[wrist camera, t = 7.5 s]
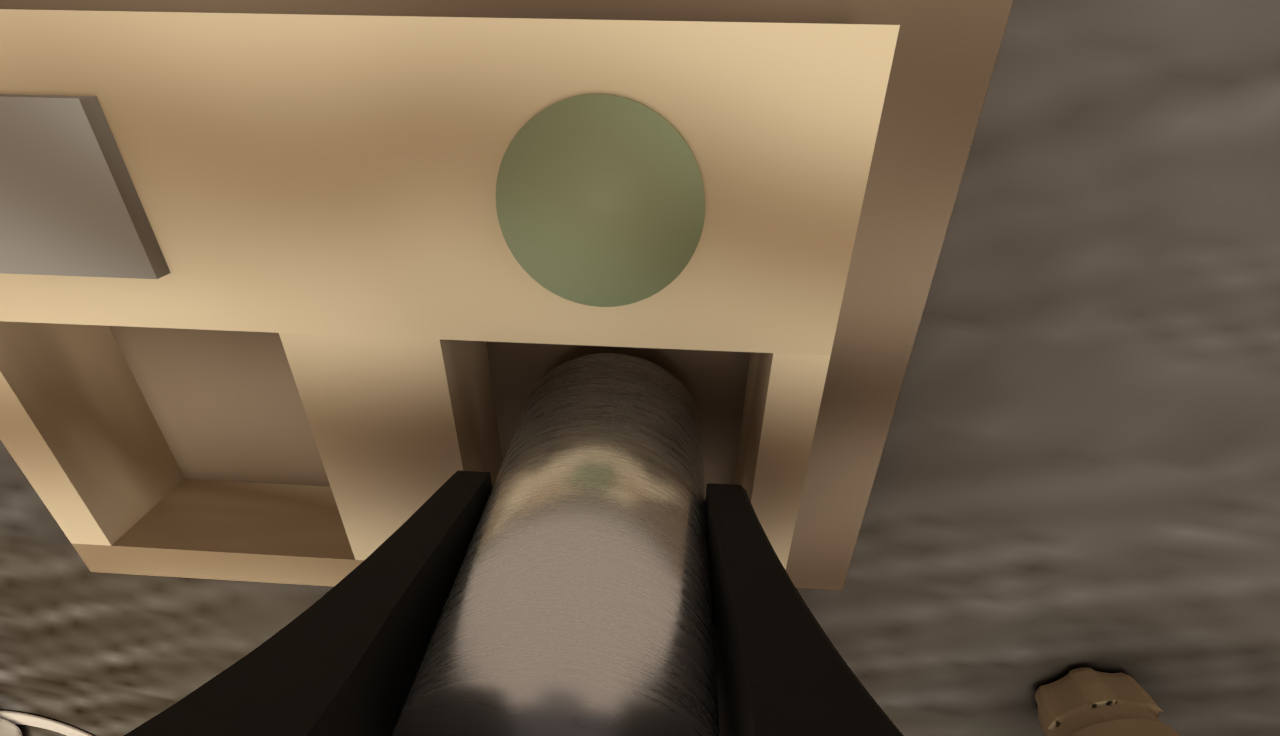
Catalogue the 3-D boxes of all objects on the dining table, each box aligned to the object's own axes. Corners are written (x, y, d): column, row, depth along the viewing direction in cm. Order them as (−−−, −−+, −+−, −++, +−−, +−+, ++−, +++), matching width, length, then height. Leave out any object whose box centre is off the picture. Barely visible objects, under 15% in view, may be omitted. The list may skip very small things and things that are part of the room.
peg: (695, 501, 14) (709, 859, 8) (531, 492, 14) (422, 837, 8) (708, 357, 12) (739, 691, 6) (517, 349, 12) (355, 666, 6)
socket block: (837, 574, 17) (869, 681, 14) (128, 533, 18) (25, 627, 15) (1029, -119, 9) (1189, -186, 6) (-272, -128, 10) (-650, -191, 7)
